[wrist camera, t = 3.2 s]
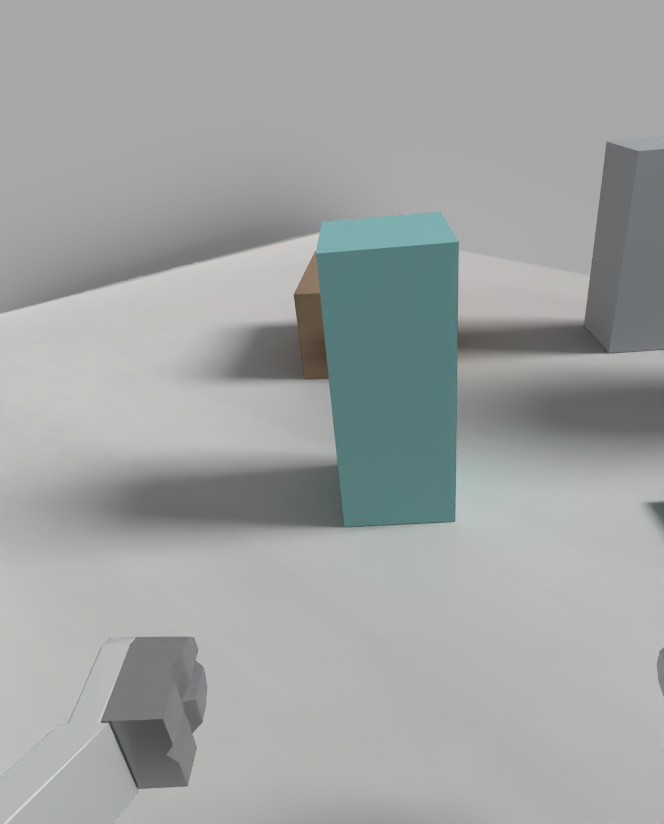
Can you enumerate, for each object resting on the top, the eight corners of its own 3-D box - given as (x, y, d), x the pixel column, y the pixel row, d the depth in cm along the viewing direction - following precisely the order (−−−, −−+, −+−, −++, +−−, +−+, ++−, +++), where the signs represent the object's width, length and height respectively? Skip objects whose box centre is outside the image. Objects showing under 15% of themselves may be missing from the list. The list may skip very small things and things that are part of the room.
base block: (304, 382, 33) (293, 294, 31) (323, 327, 40) (315, 251, 38) (454, 378, 32) (455, 286, 30) (446, 321, 39) (447, 243, 36)
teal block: (344, 526, 22) (316, 253, 17) (345, 464, 26) (322, 221, 21) (455, 521, 22) (458, 241, 17) (441, 458, 25) (440, 211, 20)
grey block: (608, 353, 32) (638, 151, 28) (584, 325, 36) (606, 141, 31) (686, 348, 32) (730, 142, 27) (654, 320, 36) (688, 134, 31)
